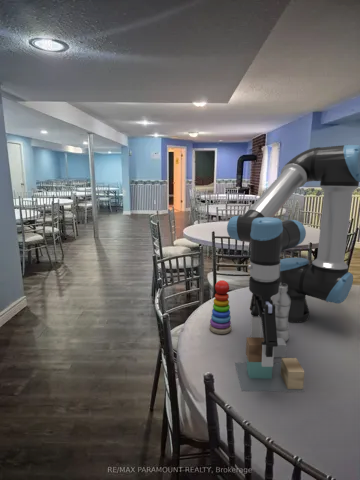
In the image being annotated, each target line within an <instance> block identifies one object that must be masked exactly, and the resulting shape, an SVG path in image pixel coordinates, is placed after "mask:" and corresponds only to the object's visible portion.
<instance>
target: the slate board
mask: <svg viewBox="0 0 360 480" xmlns="http://www.w3.org/2000/svg"><path fill="white" fill-rule="evenodd" d="M234 365H235V369H236V374H237V378H238V382H239V385H240V389H241V392H278V393H279V392H281V393H282V392H283V393H284V392H286V393H289V392H290V393H291V392H293V393H304V392H305V390H304V388H303V389H287V387H286V385H285V383H284V380H283V378H282V376H281V362H273V367H272V379H264V378H249V375H248V371H247V362H234Z"/></svg>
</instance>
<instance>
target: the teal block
mask: <svg viewBox="0 0 360 480" xmlns="http://www.w3.org/2000/svg"><path fill="white" fill-rule="evenodd" d="M246 359H247V360H246V363H247V371H248V375H249V378H264V379H272V367H262V362H249V361H248V358H247V357H246Z"/></svg>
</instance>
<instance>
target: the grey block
mask: <svg viewBox="0 0 360 480" xmlns="http://www.w3.org/2000/svg"><path fill="white" fill-rule="evenodd" d="M277 343H278V346H277V347H274V358H287V346H288V345H287V343H286V342H285V341H284V340H283V338H277Z"/></svg>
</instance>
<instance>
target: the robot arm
mask: <svg viewBox="0 0 360 480" xmlns="http://www.w3.org/2000/svg"><path fill="white" fill-rule="evenodd" d="M280 170H281V171H280V174H279V176H278V177H277V178H276V179H275V180H274V181H273V182H272V183H271V184H270V185H269V187H267V189H265V191H264V192H263V193H262V194H261V196H260V197H259V198H257V199H256V201H255V202H254V203H253V204H252V205H251V206H250V207H249V208H248V210H246V212H245V213H244V214H243V215H242V216H241V215H234V216H231V217H230V219H229V220H228V222H227V226H226V231H227V235H228V237H229V238H231V239H232V240H236V241H239V242H245V243H250V259H249V263H250V264H248V265H247V269H249V276H250V277H249V279H248V282H249V283H248V290H249V291H250V292H251V294H252V295H251V300H250V304H249V305H250V306H249V311H250V314H251V317H250V318H251V321H250V322H251V323H250V337H261V330H262V335H263V337H262V338H264V342H261V344H262V367H273V363H274V358H275V357H274V347H277V346H278V343H277V331H276V318H275V308H276V307H275V304H273V302H272V300H271V297H272V296H273V295H276V294H277V293H278V292H279V283H284V284H287V285H288V291H287V293H288V295H289V297H290V299H291V305H290V310H289V315H288V323H295V324H296V323H301V322H302V323H304V322H306V321H308V319H309V317H310V310H309V307H308V303H307V299H306V296H308V297H312V298H315V299H318V300H320V301H324V302H326V303H333V304H341V303H343V302H344V301H345V300H346V299H347V297H348V296H349V293H350V291H351V290H352V286H353V282H354V275H353V273H351V272H349V265H348V264H347V263H346V261H345V257H346V255H345V254H346V247H347V238H348V232H349V231H348V230H349V225H350V224H349V222H350V215H351V214H350V213H351V208H352V207H351V206H352V200H353V199H352V198H353V193H354V191H356V190H357V189H358V188H359V183H360V145H358V144H344V145H334V146H333V145H331V146H320V147H312V148H308V149H307V150H304V151H302V152H300V153H299V154H296V156H294V157H293V158H292V159H290V160H288V162H287V163H286V164H285V165H283V167H282V168H281V169H280ZM309 182H320V183H319V187H320V188H321V189H322V191H323V197H322V198H323V201H322V209H321V219H320V228H319V238H318V248H317V257H316V258H315V259H314V260H312V262H311V264H310V260H309V259H308V258H305V257H286V258H285V257H284V258H281V255H282V252H284V251H286V250H288V249H293V248H296V247H298V245H301V244H302V243H304V240H305V238H306V236H307V232H306V227H305V226H304V224H303V223H301V222H300V221H298V220H297V219H287V220H282V219H281V218H278V217H275V215H277V213H279V211H280V210H281V208H282V207H283V206H284V205H285V204H286V203H287V201H288V200H289V198H291V197H292V195H294V193H295V192H296V191H297V189H299V188H301V187H303V186H304V185H305V184H306V183H309ZM261 328H262V329H261Z"/></svg>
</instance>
